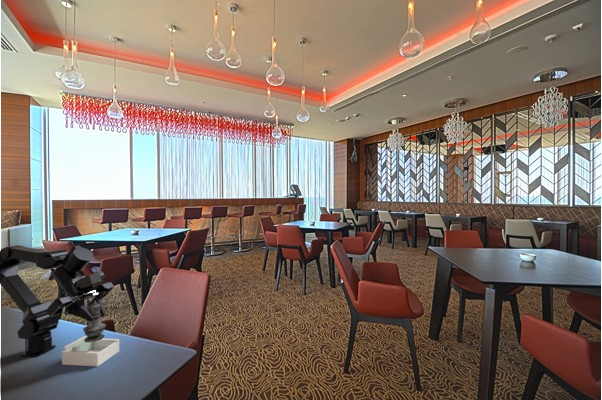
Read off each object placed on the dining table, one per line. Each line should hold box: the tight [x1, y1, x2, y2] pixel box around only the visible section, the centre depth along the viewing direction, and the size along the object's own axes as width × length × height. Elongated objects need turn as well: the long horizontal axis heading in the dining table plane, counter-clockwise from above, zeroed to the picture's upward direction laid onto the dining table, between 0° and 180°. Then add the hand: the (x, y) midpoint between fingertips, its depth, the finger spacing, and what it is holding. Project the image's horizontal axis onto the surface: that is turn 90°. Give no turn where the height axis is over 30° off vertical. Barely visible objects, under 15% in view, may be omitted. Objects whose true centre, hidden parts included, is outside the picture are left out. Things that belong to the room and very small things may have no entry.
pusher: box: [72, 341, 93, 351], centre depth 93 cm, size 1×7×4 cm, turn 174°
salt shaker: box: [82, 301, 106, 342], centre depth 92 cm, size 6×6×12 cm
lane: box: [61, 335, 120, 367], centre depth 93 cm, size 12×9×5 cm
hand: (98, 317), depth 92 cm, fingers closed on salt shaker, 4 cm apart
